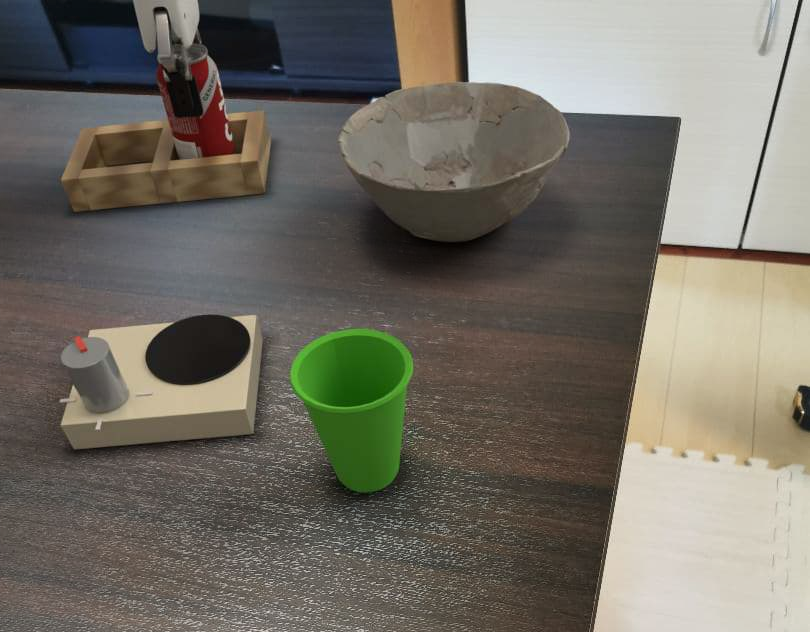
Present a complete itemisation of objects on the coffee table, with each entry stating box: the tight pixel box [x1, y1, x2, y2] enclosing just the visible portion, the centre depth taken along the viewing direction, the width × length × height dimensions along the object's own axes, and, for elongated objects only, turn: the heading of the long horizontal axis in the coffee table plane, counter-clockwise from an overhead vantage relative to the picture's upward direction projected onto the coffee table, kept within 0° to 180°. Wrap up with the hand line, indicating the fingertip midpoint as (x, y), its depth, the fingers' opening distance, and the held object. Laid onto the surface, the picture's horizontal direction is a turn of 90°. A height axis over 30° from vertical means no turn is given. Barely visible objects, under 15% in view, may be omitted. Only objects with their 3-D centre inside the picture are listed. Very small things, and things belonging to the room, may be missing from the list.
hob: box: [59, 314, 264, 450], centre depth 76 cm, size 17×14×3 cm
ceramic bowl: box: [337, 81, 571, 243], centre depth 88 cm, size 22×23×10 cm
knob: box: [60, 335, 129, 413], centre depth 71 cm, size 4×4×5 cm
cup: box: [289, 328, 414, 494], centre depth 65 cm, size 9×9×11 cm
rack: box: [60, 109, 272, 213], centre depth 101 cm, size 23×12×4 cm, turn 92°
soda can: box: [155, 43, 236, 160], centre depth 96 cm, size 7×7×12 cm
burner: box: [145, 314, 251, 385], centre depth 76 cm, size 10×10×1 cm
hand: (193, 99), depth 95 cm, fingers closed on soda can, 6 cm apart
